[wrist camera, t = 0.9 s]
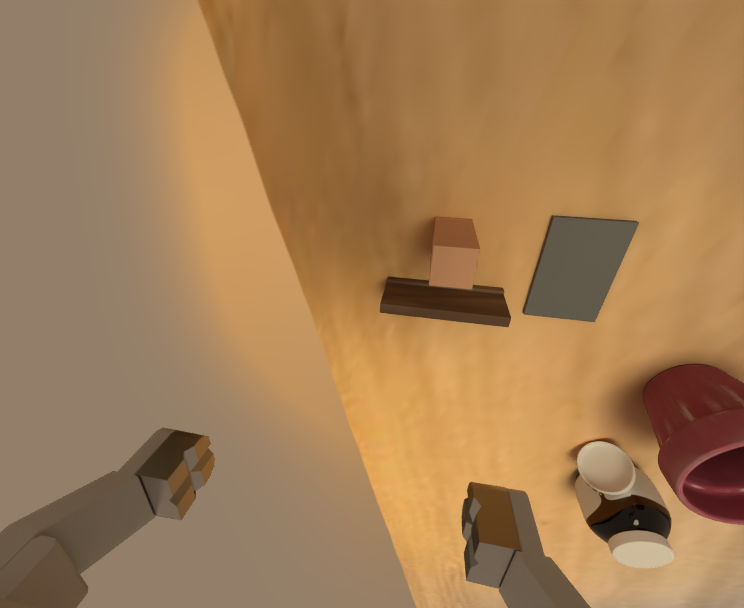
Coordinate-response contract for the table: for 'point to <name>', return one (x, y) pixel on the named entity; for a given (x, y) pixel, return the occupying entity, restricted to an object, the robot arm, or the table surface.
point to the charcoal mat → (577, 266)
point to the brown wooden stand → (445, 302)
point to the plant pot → (700, 438)
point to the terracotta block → (453, 253)
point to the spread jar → (623, 506)
